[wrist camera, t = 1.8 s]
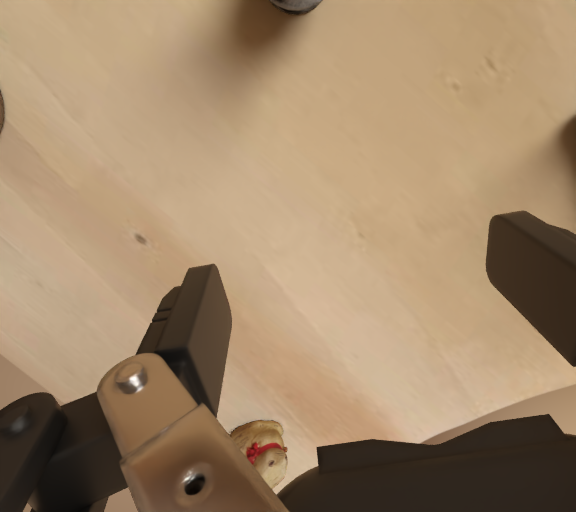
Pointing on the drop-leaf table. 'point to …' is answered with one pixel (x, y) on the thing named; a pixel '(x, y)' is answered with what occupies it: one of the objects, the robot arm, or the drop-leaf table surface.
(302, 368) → the drop-leaf table surface
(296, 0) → the salt shaker
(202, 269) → the robot arm
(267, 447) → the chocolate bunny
